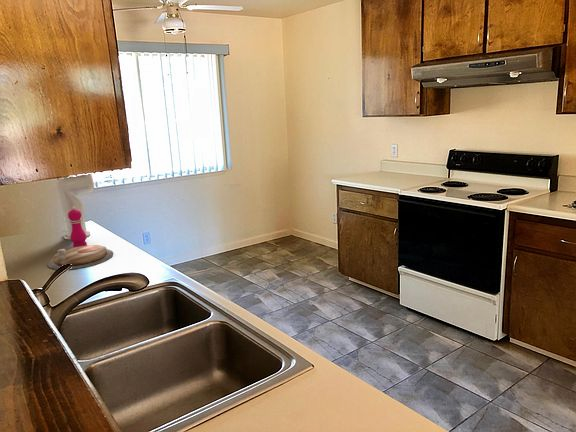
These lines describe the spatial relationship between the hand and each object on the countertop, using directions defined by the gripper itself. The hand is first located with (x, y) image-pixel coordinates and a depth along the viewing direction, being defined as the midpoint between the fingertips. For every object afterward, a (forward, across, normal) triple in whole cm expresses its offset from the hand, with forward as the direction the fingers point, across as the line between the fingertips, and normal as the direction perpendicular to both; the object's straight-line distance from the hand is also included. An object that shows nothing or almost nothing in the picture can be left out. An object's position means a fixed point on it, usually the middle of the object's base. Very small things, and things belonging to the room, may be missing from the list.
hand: (75, 173), depth 208 cm
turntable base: (+37, +5, +9) cm, 38 cm away
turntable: (+37, +5, +9) cm, 38 cm away
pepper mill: (+37, +1, -13) cm, 39 cm away
